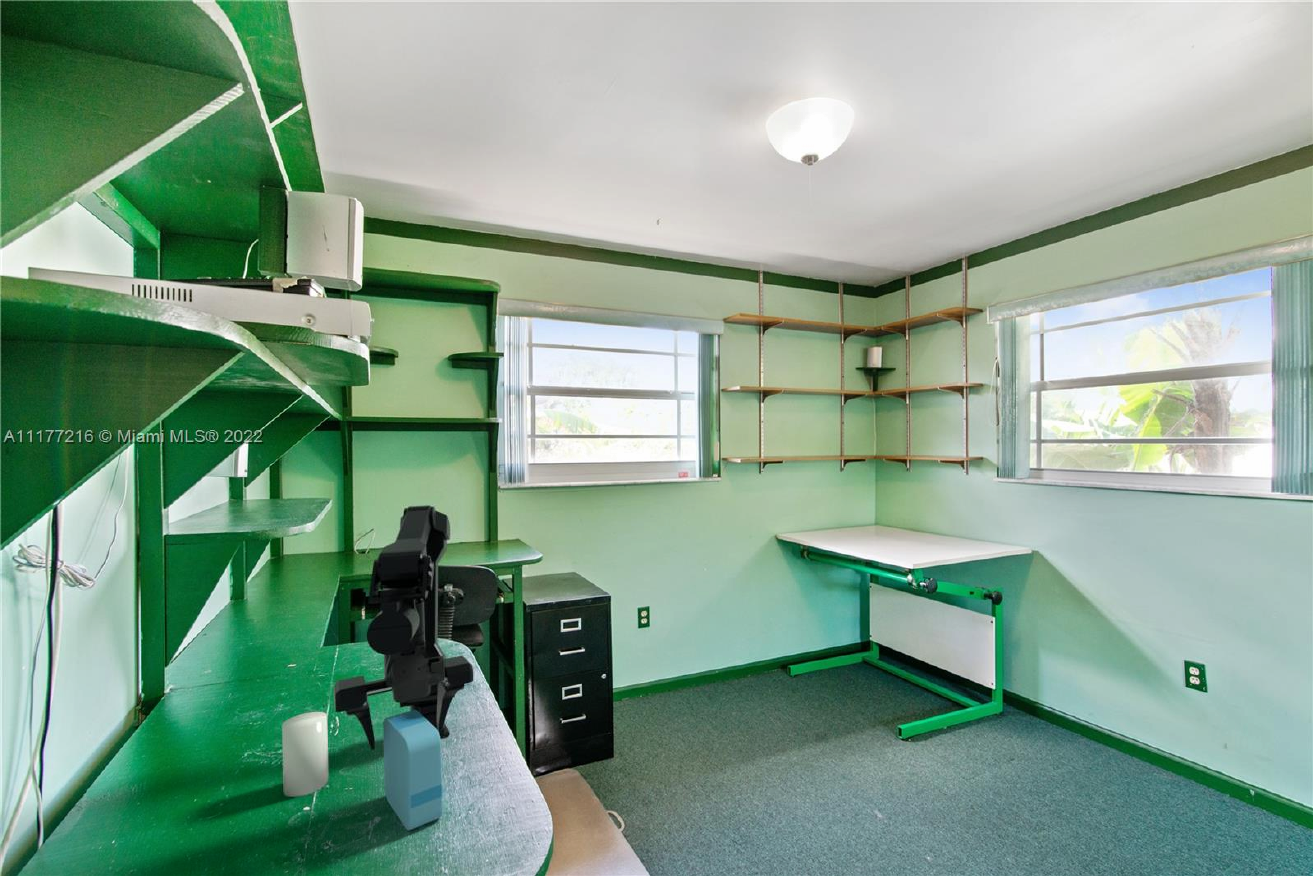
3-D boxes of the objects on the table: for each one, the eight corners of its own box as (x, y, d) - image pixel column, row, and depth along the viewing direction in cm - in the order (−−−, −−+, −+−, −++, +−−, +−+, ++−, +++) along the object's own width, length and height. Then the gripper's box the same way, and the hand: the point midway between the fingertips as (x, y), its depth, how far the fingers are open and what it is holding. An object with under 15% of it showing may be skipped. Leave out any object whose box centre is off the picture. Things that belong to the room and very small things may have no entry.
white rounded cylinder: (283, 783, 92) (282, 718, 93) (327, 771, 95) (326, 708, 96) (282, 801, 87) (281, 732, 88) (329, 788, 90) (327, 722, 91)
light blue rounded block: (443, 821, 81) (441, 732, 81) (409, 836, 78) (407, 743, 78) (416, 786, 90) (414, 706, 90) (384, 798, 87) (382, 715, 88)
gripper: (336, 662, 77) (338, 784, 76) (481, 635, 86) (484, 743, 86) (332, 641, 86) (334, 749, 86) (463, 618, 96) (466, 716, 95)
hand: (407, 740), depth 88 cm, fingers open, 9 cm apart
